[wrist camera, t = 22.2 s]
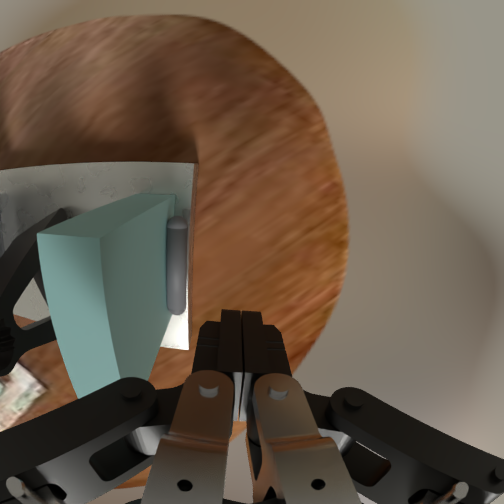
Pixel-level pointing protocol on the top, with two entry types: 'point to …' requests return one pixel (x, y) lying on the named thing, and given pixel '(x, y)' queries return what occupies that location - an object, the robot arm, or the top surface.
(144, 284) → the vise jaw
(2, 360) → the phone stand
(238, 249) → the top surface
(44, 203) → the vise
